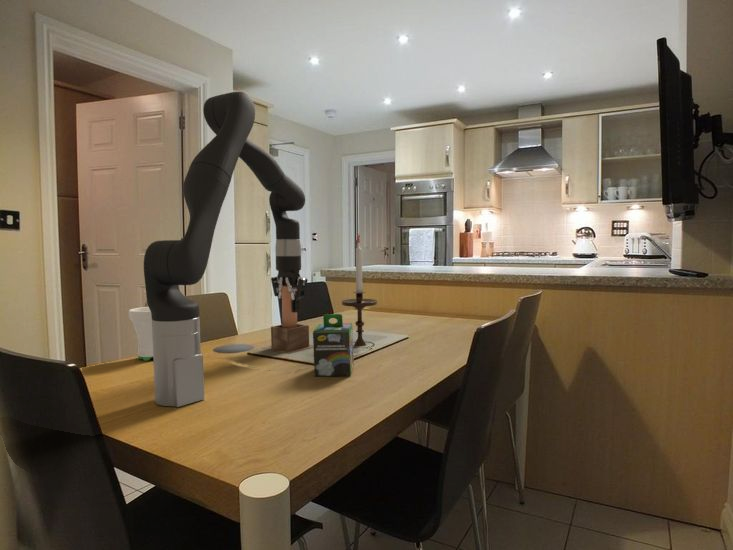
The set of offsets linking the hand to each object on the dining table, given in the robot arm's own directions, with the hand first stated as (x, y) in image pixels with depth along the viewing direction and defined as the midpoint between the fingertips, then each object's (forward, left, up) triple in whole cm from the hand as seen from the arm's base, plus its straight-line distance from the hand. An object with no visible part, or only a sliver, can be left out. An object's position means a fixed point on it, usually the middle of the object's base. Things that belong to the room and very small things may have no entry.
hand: (289, 311), depth 143 cm
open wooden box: (0, 0, -12) cm, 12 cm away
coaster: (+13, +11, -12) cm, 21 cm away
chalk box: (-27, +10, -12) cm, 31 cm away
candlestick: (-15, -15, -12) cm, 24 cm away
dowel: (0, 0, -7) cm, 7 cm away
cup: (+25, +30, -12) cm, 41 cm away
